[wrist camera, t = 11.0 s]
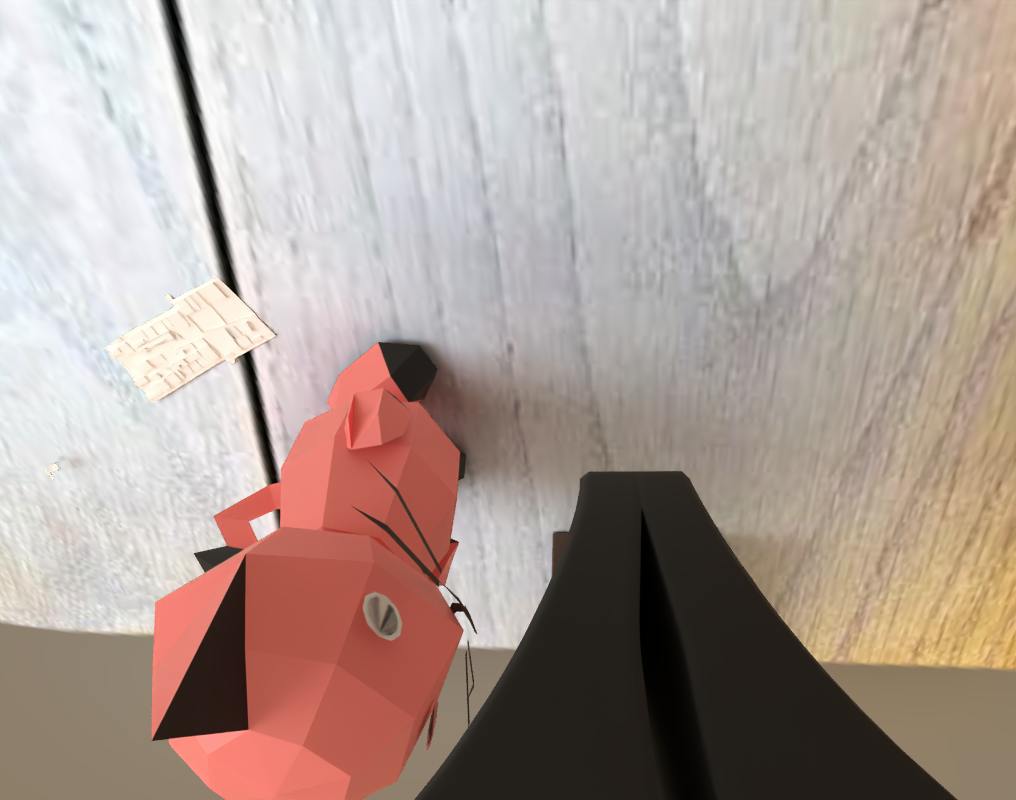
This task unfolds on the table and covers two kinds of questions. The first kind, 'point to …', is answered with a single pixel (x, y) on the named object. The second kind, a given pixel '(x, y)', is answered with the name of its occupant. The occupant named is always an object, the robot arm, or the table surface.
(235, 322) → the card
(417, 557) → the cat figurine
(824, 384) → the table surface
